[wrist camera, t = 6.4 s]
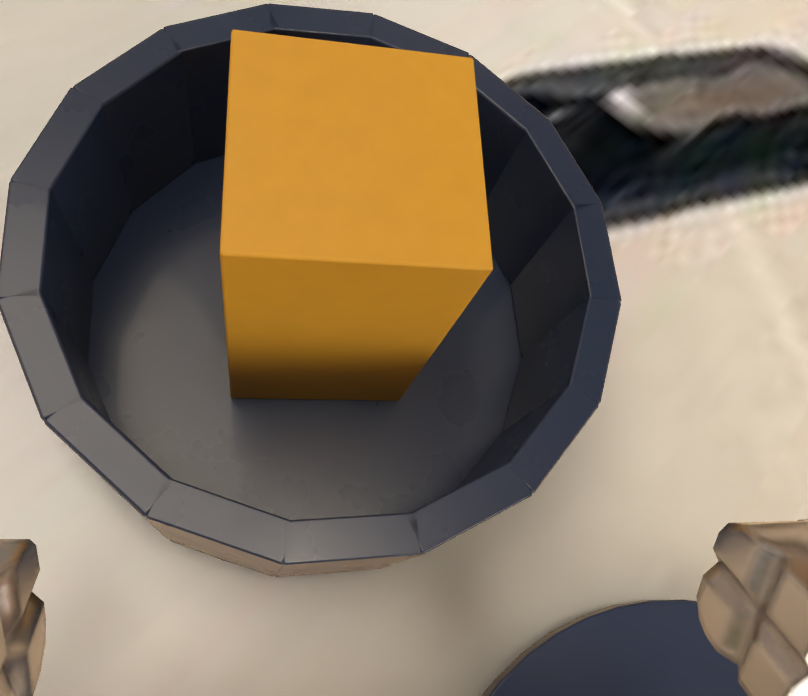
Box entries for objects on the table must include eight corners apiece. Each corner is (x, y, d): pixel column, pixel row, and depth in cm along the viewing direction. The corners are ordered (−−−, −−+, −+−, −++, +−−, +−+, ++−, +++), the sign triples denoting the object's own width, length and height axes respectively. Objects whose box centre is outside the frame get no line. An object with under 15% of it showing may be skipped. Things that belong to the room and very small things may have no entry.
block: (393, 254, 23) (474, 56, 15) (399, 401, 22) (494, 270, 13) (236, 244, 22) (230, 27, 14) (229, 398, 21) (219, 254, 12)
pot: (412, 85, 26) (451, -39, 21) (618, 440, 23) (722, 393, 18) (-10, 206, 22) (-88, 82, 17) (175, 677, 18) (148, 702, 13)
